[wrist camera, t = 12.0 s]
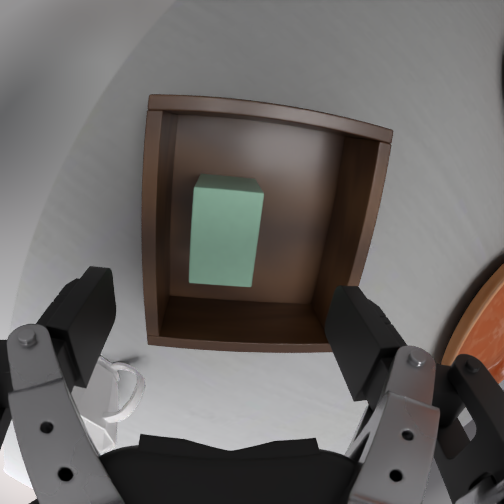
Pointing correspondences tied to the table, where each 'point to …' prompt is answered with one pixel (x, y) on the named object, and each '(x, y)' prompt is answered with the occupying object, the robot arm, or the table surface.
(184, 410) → the table surface
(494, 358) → the saucer
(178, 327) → the holder
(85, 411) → the cup
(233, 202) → the mint green block
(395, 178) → the table surface
